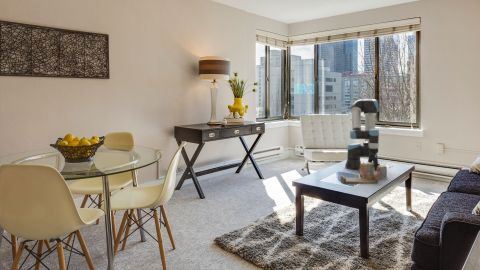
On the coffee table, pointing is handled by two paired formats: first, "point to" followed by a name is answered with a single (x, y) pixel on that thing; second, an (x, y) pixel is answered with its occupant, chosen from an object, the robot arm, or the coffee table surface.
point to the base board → (360, 180)
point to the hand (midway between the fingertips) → (372, 172)
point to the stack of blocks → (367, 170)
